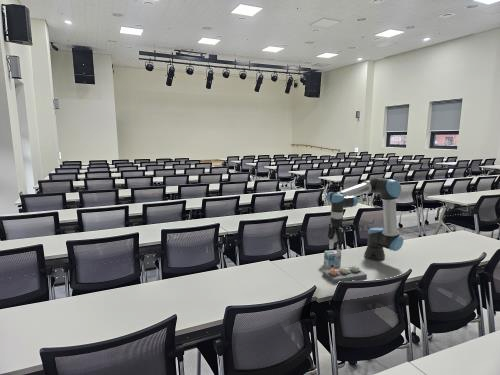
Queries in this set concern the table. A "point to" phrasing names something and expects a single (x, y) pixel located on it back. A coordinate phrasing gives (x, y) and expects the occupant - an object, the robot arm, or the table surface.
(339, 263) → the light bulb box
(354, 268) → the button one
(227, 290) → the table surface
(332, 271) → the button three
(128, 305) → the table surface
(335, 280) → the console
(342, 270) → the button two
